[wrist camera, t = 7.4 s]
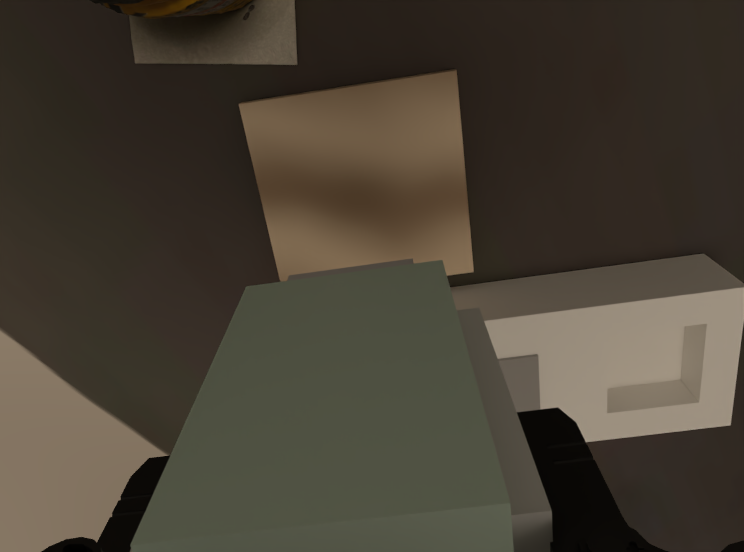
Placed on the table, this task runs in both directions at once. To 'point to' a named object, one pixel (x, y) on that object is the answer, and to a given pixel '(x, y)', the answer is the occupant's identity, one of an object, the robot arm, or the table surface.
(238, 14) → the condiment
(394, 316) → the block
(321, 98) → the cork coaster
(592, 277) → the power strip
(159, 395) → the table surface
